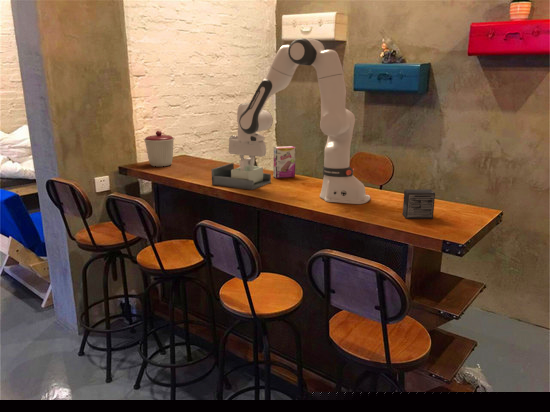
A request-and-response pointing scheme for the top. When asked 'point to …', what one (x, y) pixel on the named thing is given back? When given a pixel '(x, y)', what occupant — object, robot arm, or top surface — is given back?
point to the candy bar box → (284, 162)
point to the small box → (418, 203)
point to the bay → (223, 178)
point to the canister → (159, 149)
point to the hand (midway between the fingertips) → (247, 164)
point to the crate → (248, 171)
